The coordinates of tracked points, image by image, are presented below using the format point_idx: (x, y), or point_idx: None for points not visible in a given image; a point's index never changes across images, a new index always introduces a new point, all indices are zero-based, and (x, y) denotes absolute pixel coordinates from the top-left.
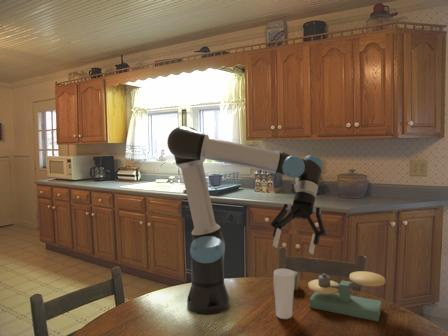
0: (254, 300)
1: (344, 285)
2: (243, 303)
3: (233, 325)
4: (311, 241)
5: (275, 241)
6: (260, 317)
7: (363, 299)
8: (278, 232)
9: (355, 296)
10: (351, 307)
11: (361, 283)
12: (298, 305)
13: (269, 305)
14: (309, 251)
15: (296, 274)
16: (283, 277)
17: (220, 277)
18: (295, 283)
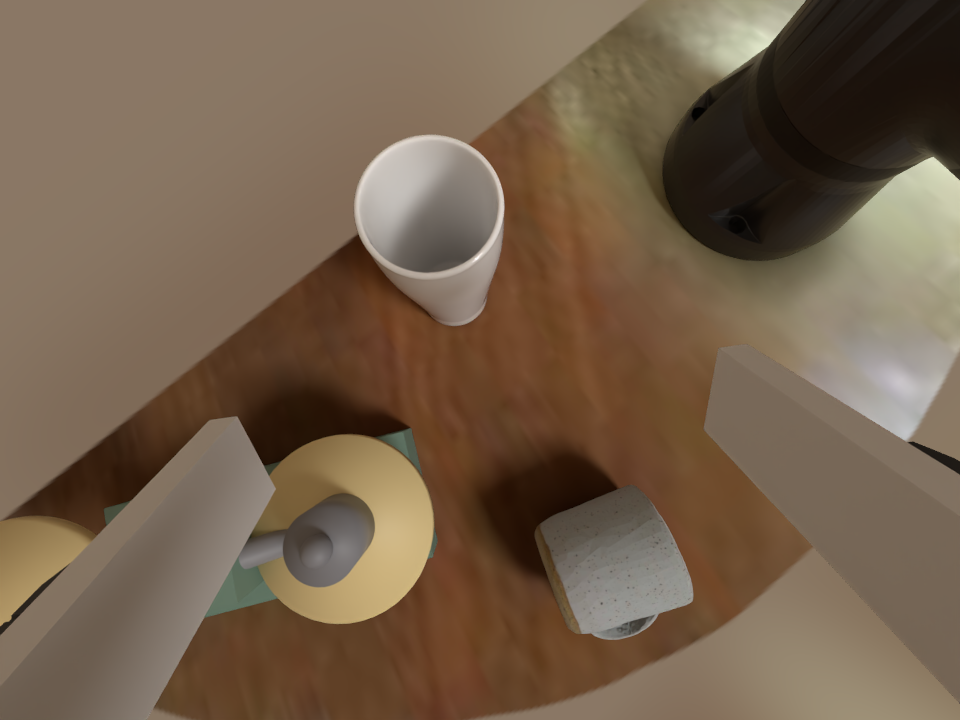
0: (632, 329)
1: None
2: (649, 276)
3: (558, 122)
4: (119, 540)
5: (759, 382)
6: (519, 228)
7: None
8: (926, 535)
9: (240, 607)
10: None
11: (18, 519)
12: (458, 413)
13: (553, 333)
14: (222, 420)
15: (560, 582)
16: (393, 151)
17: (792, 65)
18: (540, 531)
